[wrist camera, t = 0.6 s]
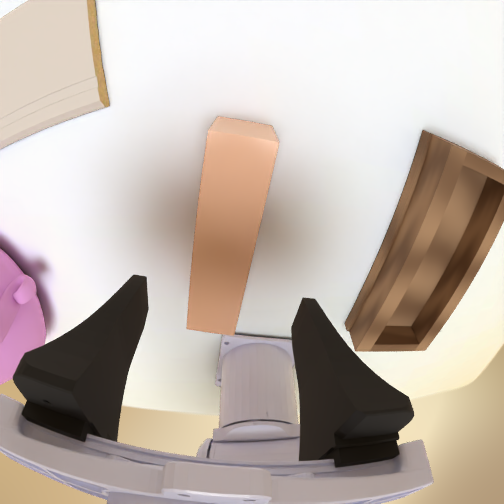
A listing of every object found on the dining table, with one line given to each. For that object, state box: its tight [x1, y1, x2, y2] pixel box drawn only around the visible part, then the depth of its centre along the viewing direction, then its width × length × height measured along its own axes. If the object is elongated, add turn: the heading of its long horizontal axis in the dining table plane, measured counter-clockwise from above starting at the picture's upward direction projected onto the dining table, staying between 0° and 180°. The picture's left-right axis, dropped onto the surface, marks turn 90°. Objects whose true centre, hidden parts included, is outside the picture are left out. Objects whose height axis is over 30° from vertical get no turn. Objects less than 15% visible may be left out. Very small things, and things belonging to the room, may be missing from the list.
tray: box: [345, 130, 504, 351], centre depth 22 cm, size 19×9×4 cm, turn 171°
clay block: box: [187, 116, 279, 336], centre depth 20 cm, size 14×4×5 cm, turn 169°
